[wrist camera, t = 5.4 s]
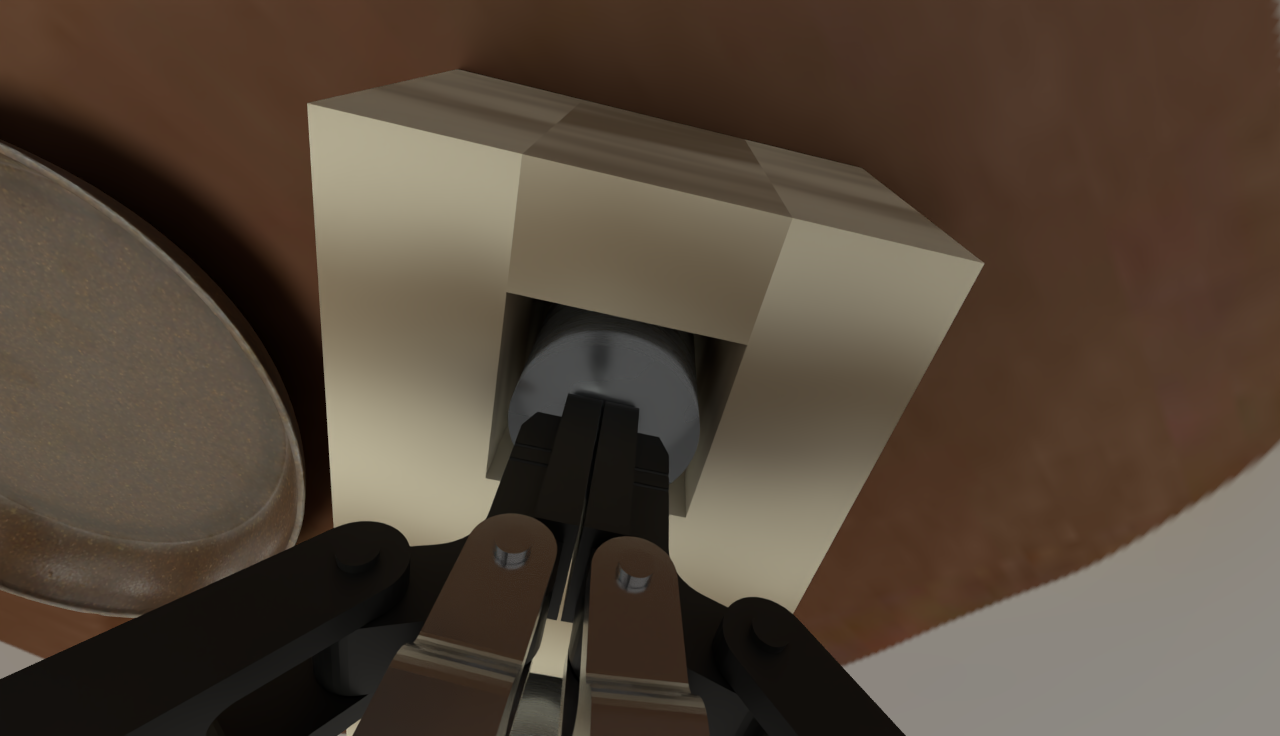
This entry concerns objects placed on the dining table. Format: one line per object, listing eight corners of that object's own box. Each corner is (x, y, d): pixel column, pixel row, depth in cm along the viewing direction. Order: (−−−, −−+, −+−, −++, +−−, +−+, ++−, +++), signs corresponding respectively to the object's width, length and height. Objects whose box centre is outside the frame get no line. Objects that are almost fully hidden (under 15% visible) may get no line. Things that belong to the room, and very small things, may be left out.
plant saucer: (-323, 301, 22) (-470, 342, 19) (-79, -89, 16) (-247, -113, 13) (161, 612, 30) (108, 673, 28) (454, 440, 24) (424, 498, 21)
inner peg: (576, 212, 18) (519, 325, 11) (705, 242, 18) (723, 370, 11) (557, 328, 20) (499, 482, 13) (672, 353, 20) (673, 516, 13)
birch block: (457, 69, 17) (306, 103, 10) (861, 167, 18) (984, 263, 11) (429, 581, 28) (349, 766, 21) (677, 627, 29) (679, 820, 22)
